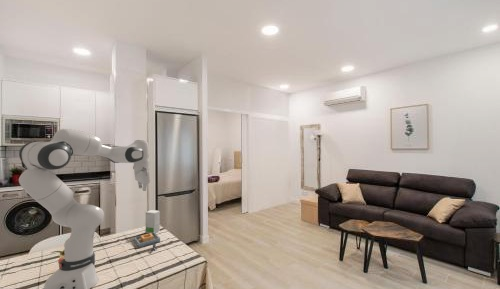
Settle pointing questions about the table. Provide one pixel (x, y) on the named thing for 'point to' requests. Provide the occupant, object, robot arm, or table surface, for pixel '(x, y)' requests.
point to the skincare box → (152, 221)
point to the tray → (142, 244)
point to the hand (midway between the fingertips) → (142, 189)
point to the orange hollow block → (146, 238)
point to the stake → (154, 247)
